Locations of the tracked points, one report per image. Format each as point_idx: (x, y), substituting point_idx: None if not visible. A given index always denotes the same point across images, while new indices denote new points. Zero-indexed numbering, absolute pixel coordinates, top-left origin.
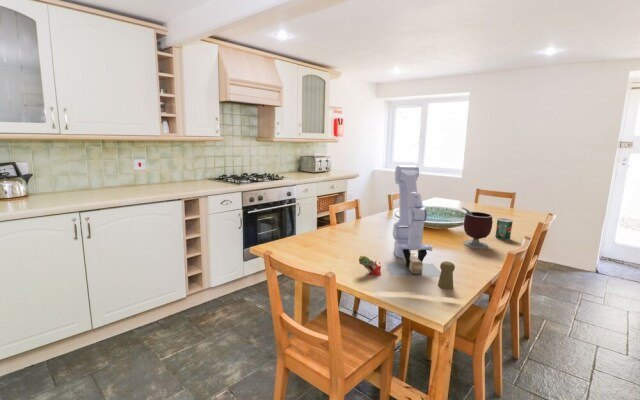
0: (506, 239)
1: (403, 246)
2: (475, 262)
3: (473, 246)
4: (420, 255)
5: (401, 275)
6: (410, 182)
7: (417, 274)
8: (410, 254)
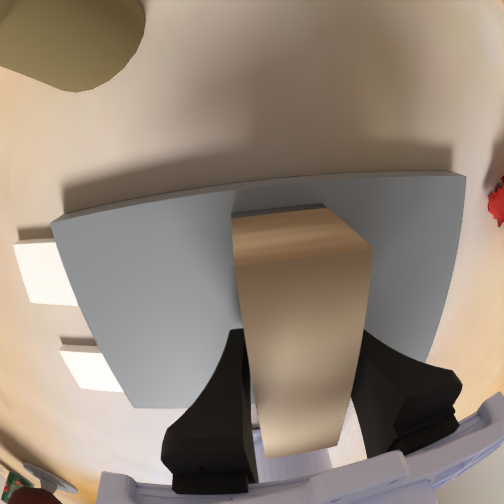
0: (12, 472)
1: (492, 444)
2: (5, 408)
3: (47, 474)
4: (245, 421)
5: (407, 184)
6: None
7: (274, 209)
8: (398, 390)
